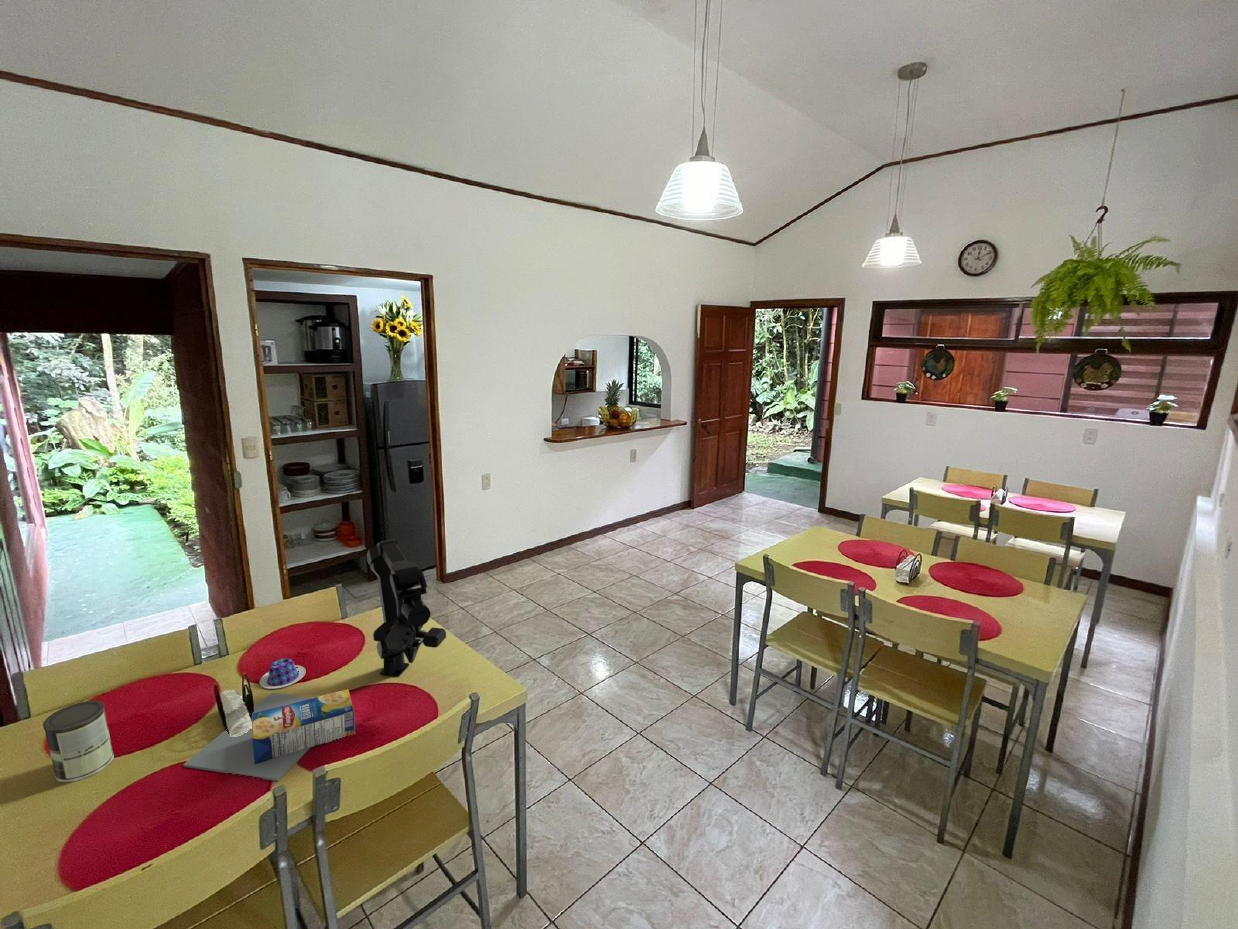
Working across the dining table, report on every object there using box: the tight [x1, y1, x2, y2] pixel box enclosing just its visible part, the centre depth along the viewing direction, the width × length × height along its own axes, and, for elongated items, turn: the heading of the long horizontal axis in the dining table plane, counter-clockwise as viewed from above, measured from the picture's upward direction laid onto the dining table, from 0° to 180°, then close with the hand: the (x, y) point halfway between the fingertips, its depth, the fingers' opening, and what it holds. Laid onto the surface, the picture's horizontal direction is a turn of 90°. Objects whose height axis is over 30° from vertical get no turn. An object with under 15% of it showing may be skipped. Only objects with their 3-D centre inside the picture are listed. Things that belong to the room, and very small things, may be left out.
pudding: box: [259, 658, 307, 690], centre depth 168 cm, size 12×12×5 cm
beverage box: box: [252, 688, 356, 764], centre depth 143 cm, size 7×11×22 cm
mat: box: [183, 692, 312, 782], centre depth 145 cm, size 28×25×1 cm
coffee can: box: [42, 700, 115, 783], centre depth 131 cm, size 10×10×14 cm
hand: (411, 662), depth 155 cm, fingers closed
